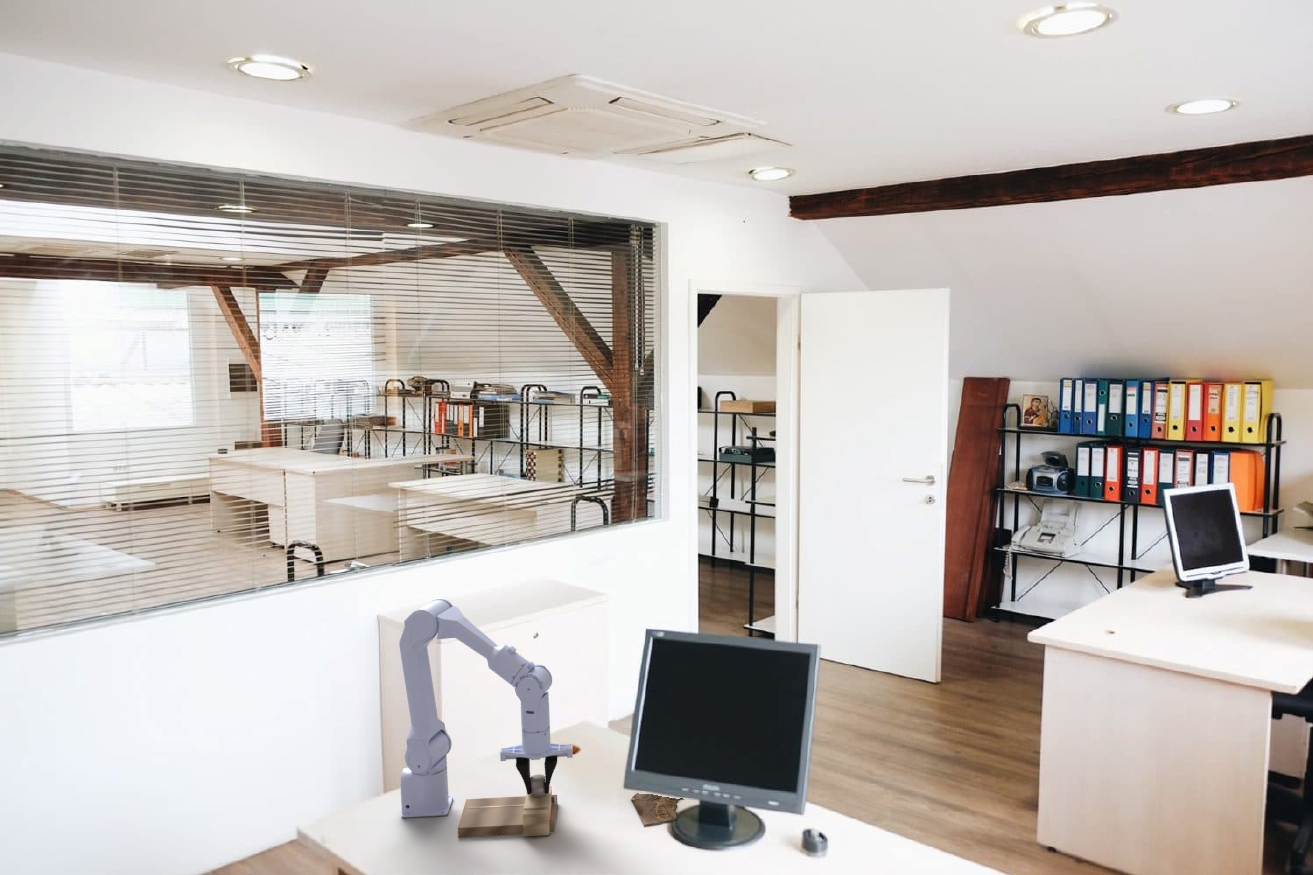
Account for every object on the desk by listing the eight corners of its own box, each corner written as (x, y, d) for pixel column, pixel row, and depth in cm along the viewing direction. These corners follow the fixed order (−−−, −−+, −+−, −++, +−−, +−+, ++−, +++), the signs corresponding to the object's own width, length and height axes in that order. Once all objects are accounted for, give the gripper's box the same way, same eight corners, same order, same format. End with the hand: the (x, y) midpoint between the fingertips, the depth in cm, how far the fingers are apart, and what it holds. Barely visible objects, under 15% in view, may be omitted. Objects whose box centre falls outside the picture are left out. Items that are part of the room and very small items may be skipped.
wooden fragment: (673, 830, 189) (673, 824, 189) (619, 826, 191) (619, 821, 191) (693, 773, 214) (693, 768, 214) (646, 770, 216) (645, 765, 216)
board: (458, 837, 188) (457, 827, 187) (466, 808, 200) (466, 798, 199) (554, 832, 189) (554, 822, 188) (557, 803, 201) (557, 794, 200)
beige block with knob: (523, 835, 186) (522, 796, 185) (528, 807, 198) (526, 770, 197) (552, 834, 187) (550, 795, 186) (555, 806, 198) (553, 769, 197)
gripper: (497, 737, 188) (500, 802, 189) (571, 733, 189) (573, 799, 190) (501, 723, 195) (504, 786, 196) (572, 719, 196) (574, 782, 197)
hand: (538, 791), depth 194 cm, fingers closed on beige block with knob, 3 cm apart
